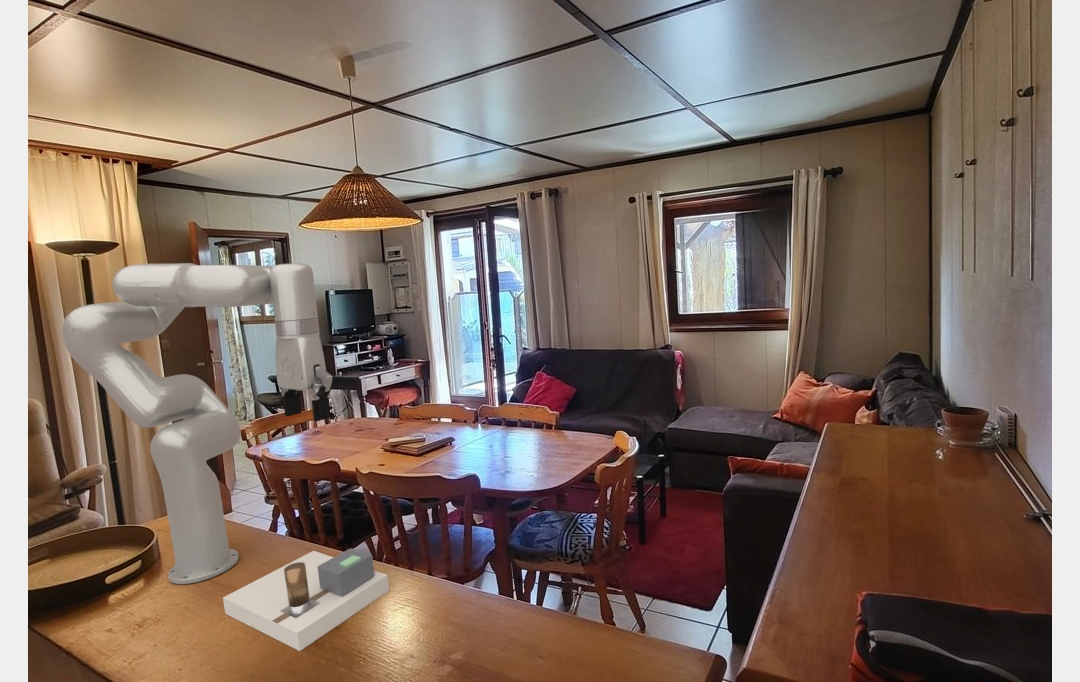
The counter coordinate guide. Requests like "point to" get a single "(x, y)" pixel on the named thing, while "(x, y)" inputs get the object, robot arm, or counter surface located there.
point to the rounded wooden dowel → (297, 589)
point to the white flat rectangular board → (271, 614)
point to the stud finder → (345, 571)
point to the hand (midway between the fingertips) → (307, 417)
